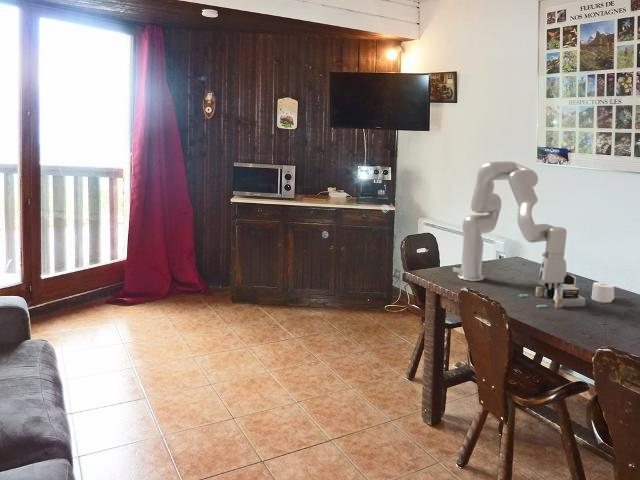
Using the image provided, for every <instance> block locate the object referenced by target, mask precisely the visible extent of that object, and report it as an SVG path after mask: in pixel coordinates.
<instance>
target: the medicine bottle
mask: <svg viewBox="0 0 640 480" xmlns="http://www.w3.org/2000/svg"><path fill="white" fill-rule="evenodd" d="M576 279H577V277H576V276H574V275H572V274H567V273H566V277H564V282H563V283H560V284H561V285H559V286H558V287H557V288H556V289H555V294H554V298H553V300H554V301H555V297H560V298H578V295H579V291H580V288H578V287H576Z"/></svg>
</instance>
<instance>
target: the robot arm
mask: <svg viewBox="0 0 640 480" xmlns="http://www.w3.org/2000/svg"><path fill="white" fill-rule="evenodd" d="M538 177H539V176H538V174H537V173H536V172H535V170H533V169H531V168H529V167H526V166H523V165H521V164H520V163H517V162H514V161H509V160H508V161H500V160H499V161H489V162H486V163H483V164H481V166H480V167H479V169H478V172H477V175H476V182H475V187H474V190H473V195H472V198H471V202H470V209H471V211H472V212H473V213H476V214H472V215H468V216H466V217H465V218H463V220H462V221H463V222H462V234H463V240H462V241H463V242H462V255H461V267H455V266H454V267H452V271H453V272H454V273H458V274H457V276H458V277H459V278H458V277H457V278H458V279H459V280H462V279H463V280H464V281H467V280H468V281H469V282H480V281H483V280H484V279H485V277H484V275H483V274H482V266H483V265H482V264H483V254H484V238H483V236H482V234H489V233H491V232H493V231H494V229H496V227H497V223H498V220H499V216H500V212H501V210H502V199H501V197H500V196H499V195H498V193H494V190H495V182H494V181H500V180H501V181H506V180H507V182H508V184H509V186H510V190H511V191H512V193H513V196H514V198H515V201H516V203H517V207H518V210H517V225H518V228H519V230H520V233H521V234H522V237H523V238H524V239H525V241H527V242H529V243H539V242H545V251H544V252H543V253H542V257H544V258H542V260H541V261H542V262H541V264H540V269H539V274H538V278H539V281H538V284H539V285H542V286H544V287H545V288H546V297H545V298H548V299H554V294H555V289H556V288H557V287H558V286H559V285H561V284H560V283H563V282H564V277H566V274H567V260H566V259H565V251H566V243H567V242H566V241H567V233H568V232H567V231H568V230H567V229H566V228H564V227H562V226H554V225H551V224H548V223H540V224H535V220H534V219H533V216H532V211H533V208H534V206H535V205H536V204H537V203H538V201H539V199H538V196H537V194H536V192H535V190H534V187H536V186H537V184H538V181H539V178H538Z"/></svg>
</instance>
